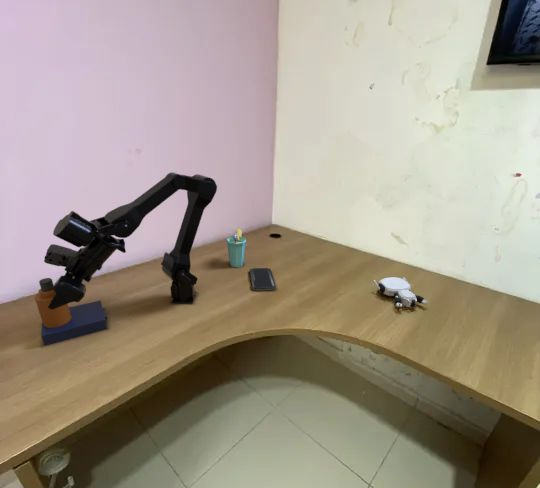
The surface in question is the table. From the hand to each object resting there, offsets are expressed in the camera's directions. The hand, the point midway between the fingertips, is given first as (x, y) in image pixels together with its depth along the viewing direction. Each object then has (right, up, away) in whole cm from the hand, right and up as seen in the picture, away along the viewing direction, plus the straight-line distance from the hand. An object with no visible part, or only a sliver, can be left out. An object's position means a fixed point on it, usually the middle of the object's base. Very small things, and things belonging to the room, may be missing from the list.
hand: (54, 298), depth 78 cm
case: (+2, -8, +6) cm, 10 cm away
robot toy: (+98, -3, +26) cm, 101 cm away
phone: (+52, +3, +34) cm, 62 cm away
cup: (+41, +8, +44) cm, 61 cm away
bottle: (-1, -6, +3) cm, 7 cm away
